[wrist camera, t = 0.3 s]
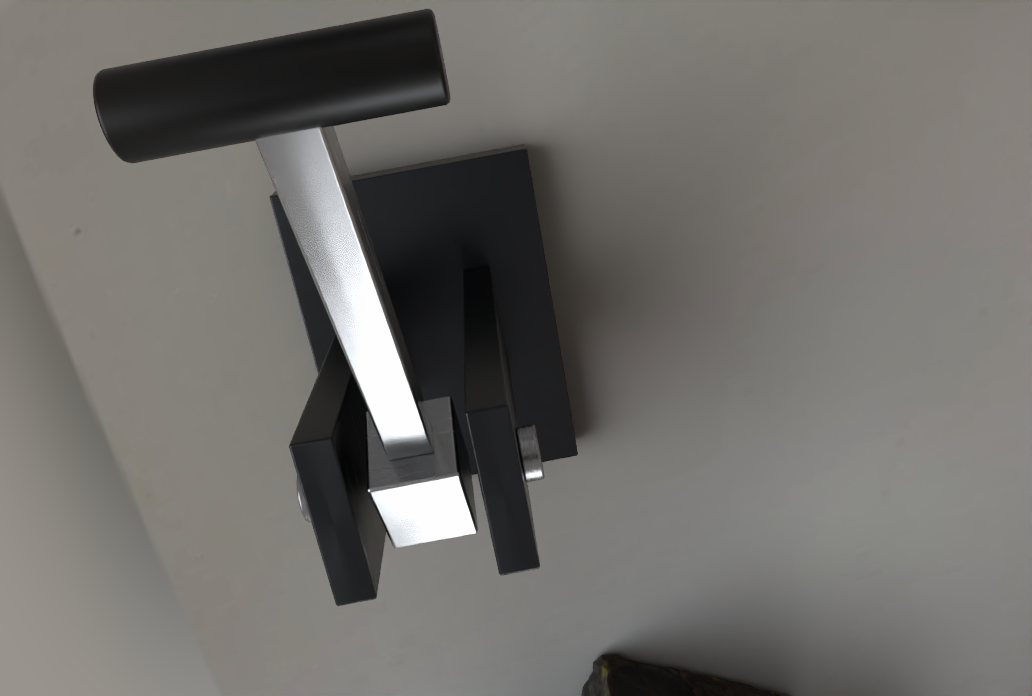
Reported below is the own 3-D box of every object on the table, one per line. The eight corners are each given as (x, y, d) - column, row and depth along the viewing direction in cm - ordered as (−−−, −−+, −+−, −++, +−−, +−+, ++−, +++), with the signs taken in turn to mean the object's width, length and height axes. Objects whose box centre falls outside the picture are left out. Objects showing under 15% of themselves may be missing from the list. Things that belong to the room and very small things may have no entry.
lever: (107, 37, 14) (75, 121, 12) (427, -23, 14) (439, 53, 12) (336, 481, 24) (335, 561, 22) (523, 446, 24) (536, 523, 22)
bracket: (276, 190, 31) (144, 301, 18) (523, 144, 31) (571, 221, 18) (355, 481, 35) (295, 743, 22) (573, 440, 35) (641, 679, 22)
